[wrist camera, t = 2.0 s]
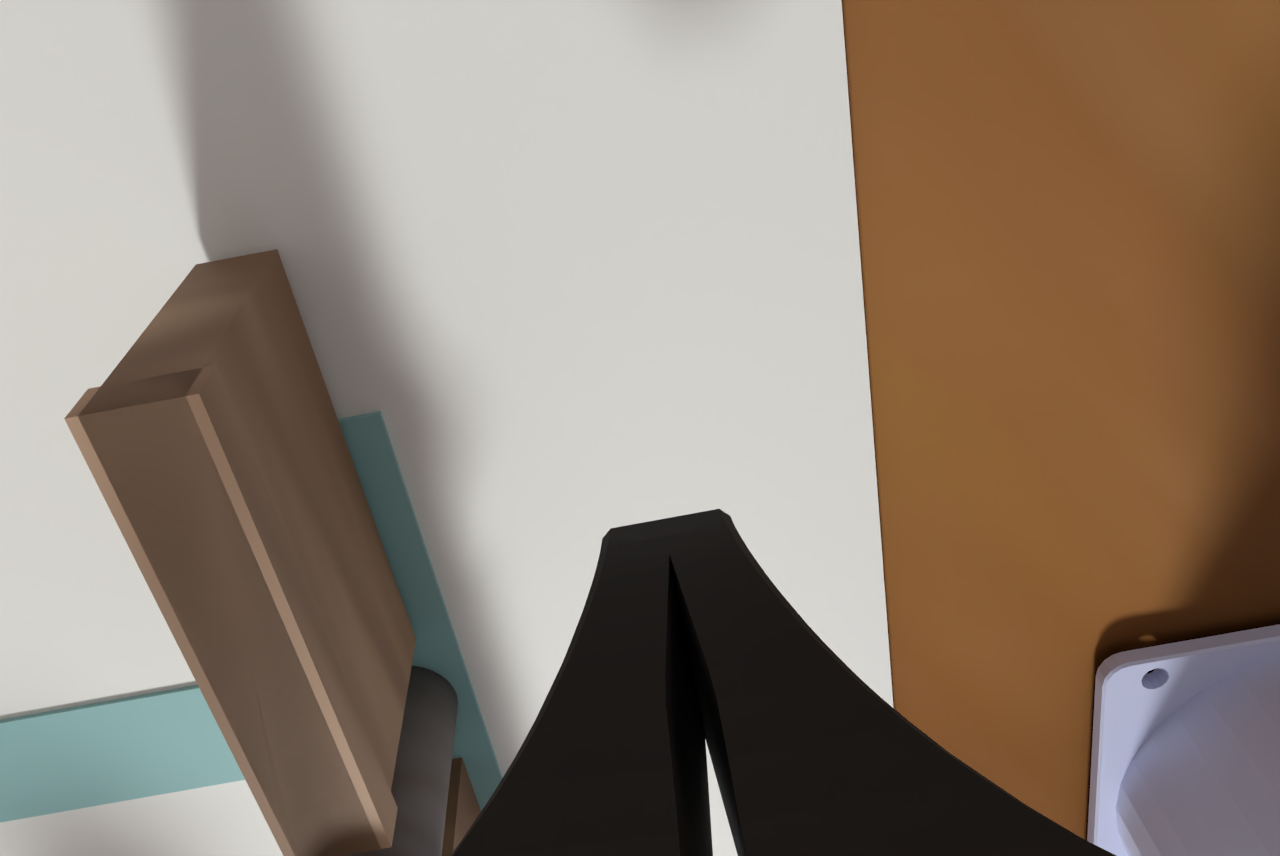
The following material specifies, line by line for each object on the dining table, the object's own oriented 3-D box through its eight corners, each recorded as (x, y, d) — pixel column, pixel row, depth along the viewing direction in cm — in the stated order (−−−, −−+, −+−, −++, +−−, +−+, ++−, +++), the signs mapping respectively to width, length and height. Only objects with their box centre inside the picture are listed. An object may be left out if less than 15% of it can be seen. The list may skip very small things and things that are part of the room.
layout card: (816, -271, 14) (823, -272, 13) (907, 936, 26) (912, 951, 25) (-575, 5, 14) (-604, 10, 14) (153, 1062, 26) (148, 1080, 26)
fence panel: (287, 247, 16) (198, 393, 12) (424, 637, 19) (391, 847, 16) (185, 266, 16) (64, 418, 12) (341, 652, 19) (287, 864, 16)
